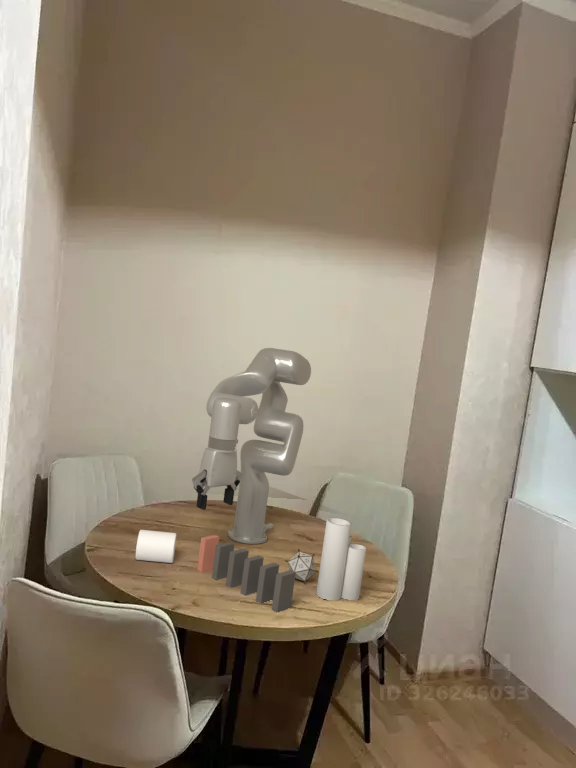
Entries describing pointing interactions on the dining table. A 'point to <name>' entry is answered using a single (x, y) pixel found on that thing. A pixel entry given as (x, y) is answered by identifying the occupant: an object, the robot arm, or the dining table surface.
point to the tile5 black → (266, 582)
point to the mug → (156, 546)
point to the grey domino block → (283, 591)
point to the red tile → (207, 553)
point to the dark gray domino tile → (236, 567)
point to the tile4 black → (251, 575)
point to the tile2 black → (221, 560)
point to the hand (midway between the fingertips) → (214, 505)
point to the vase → (340, 563)
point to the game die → (302, 565)
